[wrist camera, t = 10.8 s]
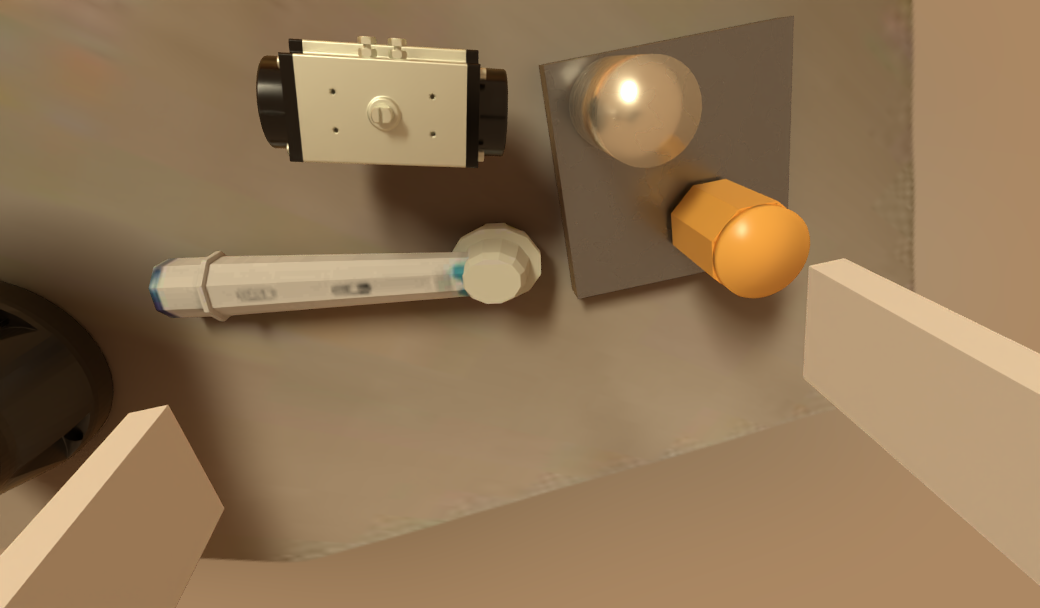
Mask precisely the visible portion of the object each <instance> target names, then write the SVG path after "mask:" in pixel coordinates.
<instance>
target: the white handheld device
mask: <svg viewBox="0 0 1040 608" xmlns="http://www.w3.org/2000/svg"><path fill="white" fill-rule="evenodd" d="M540 275H541V254H540V250H539V249H538V248H537V246H536V245H535V244H534V242H533V241H532V240H531V239H530V237H529V236H528V235H527V234H526V233H525V231H524V230H523V231H521V230H519V229H516V228H514V227H511V226H509V225H506V223H487V224H485V225H484V226H482V227H480V228H478V229H476V230H474V231H472V232H470V233H468V234H466V235H465V236H463V237H461V238H460V239H459V241H458V243H457V244H456V246H455V248H454V249H453V251H452V252H433V253H380V254H327V255H274V256H227V255H225V254H224V253H223V252H222V251H216V252H214V253H213V254H211V255H209V256H208V257H197V258H173V259H167V260H165V261H163V262H161V263H159V264H158V265H156V266H154V268H153V272H152V276H151V281H150V285H149V291H150V294H151V297H152V299H153V302H154V305H155V308H156V310H157V311H159V312H161V313H163V314H165V315H167V316H169V317H171V318H183V317H210V316H211V317H213V318H215V319H217V320H218V321H226V320H227V319H228V318H229V317H230V316H232V315H243V314H255V313H267V312H280V311H292V310H304V309H317V308H329V307H342V306H354V305H366V304H379V303H391V302H403V301H416V300H428V299H441V298H453V297H465V296H470V297H471V298H473V299H476V300H478V301H481V302H483V303H486V304H495V303H504V302H506V301H508V300H511V299H513V298H515V297H517V296H519V295H521V294H523V293H525V292H527V291H529V290H530V289H531V288H532V286H533V285H534V283H535V282H536V280H537V279H538V278H539V276H540Z"/></svg>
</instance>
